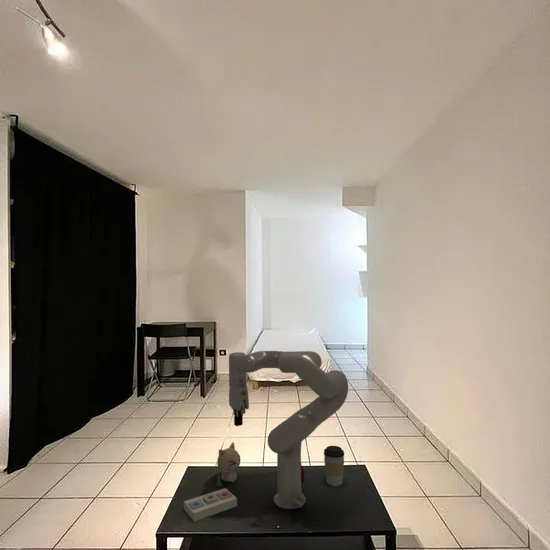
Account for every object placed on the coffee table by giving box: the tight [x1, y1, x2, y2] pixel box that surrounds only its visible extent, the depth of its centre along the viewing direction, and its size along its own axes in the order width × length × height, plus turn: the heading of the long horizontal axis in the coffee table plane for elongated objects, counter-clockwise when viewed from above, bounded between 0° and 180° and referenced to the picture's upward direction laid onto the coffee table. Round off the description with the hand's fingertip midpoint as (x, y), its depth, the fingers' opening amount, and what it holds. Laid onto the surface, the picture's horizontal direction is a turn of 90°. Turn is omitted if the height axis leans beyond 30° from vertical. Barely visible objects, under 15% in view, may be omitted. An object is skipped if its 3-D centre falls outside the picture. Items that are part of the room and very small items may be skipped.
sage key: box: [203, 492, 219, 505], centre depth 157 cm, size 5×5×2 cm
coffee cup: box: [323, 445, 345, 487], centre depth 175 cm, size 9×9×15 cm
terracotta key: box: [217, 490, 232, 500], centre depth 160 cm, size 5×5×2 cm
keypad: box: [183, 487, 238, 522], centre depth 156 cm, size 10×18×3 cm, turn 124°
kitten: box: [216, 441, 241, 488], centre depth 179 cm, size 15×10×15 cm
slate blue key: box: [188, 500, 204, 510], centre depth 153 cm, size 5×5×2 cm
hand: (238, 425), depth 171 cm, fingers closed
